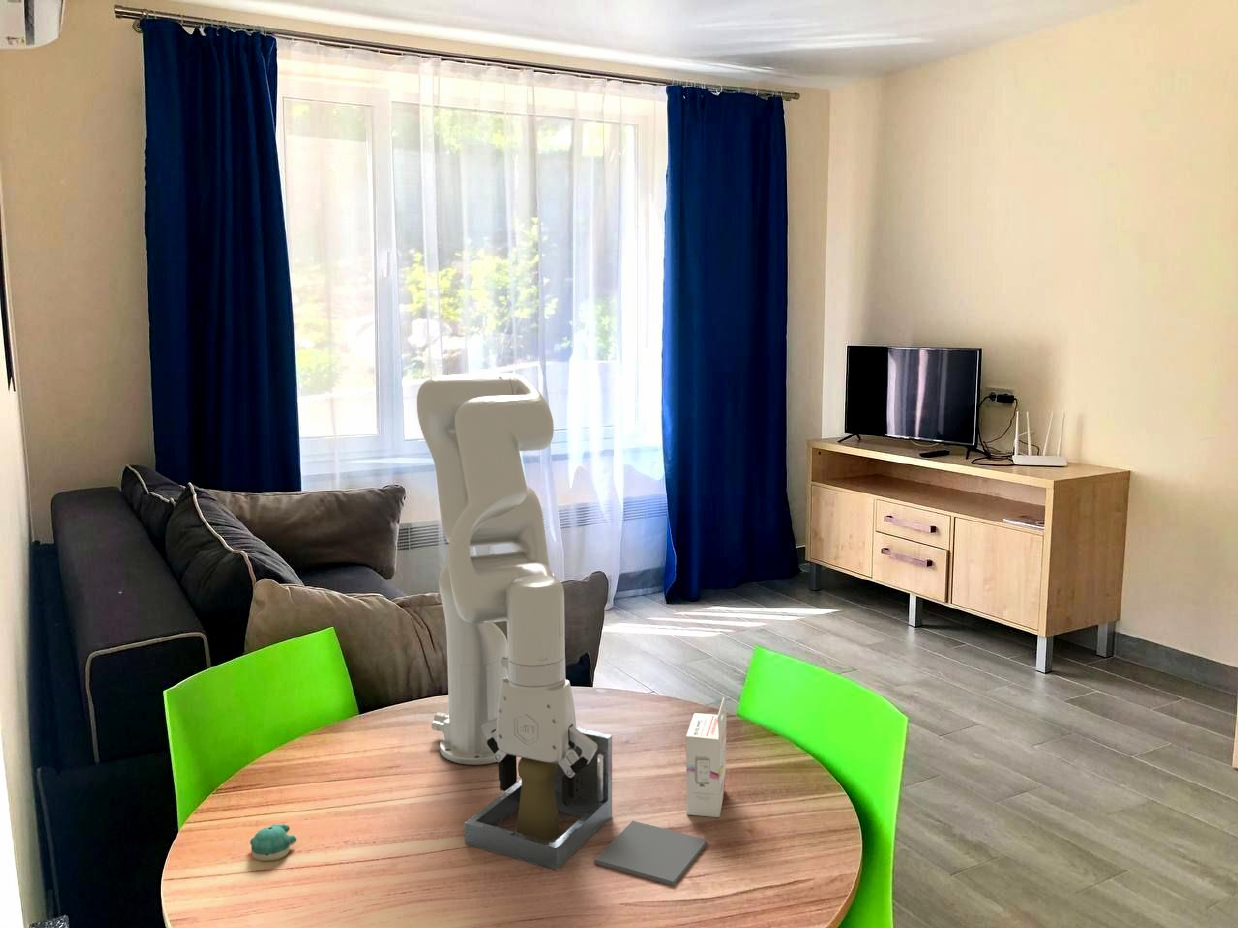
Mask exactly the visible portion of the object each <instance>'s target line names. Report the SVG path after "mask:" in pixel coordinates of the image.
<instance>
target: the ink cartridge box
mask: <svg viewBox="0 0 1238 928" xmlns="http://www.w3.org/2000/svg"><path fill="white" fill-rule="evenodd" d="M685 743H686V744H685V745H686V750H685V751H686V752H685V753H686V754H685V755H686V758H685V759H686V766H685V767H686V815H691V816H702V817H703V816H705V817H713V818H719V817H720V816H721V812H722V805H723V803H724V802H723V800H724V794H725V790H726V759H727V707H726V697H725V696H723V697H722V701H721V704H720V707H719V710H718V714H712V713H701V712H700V713H699V712H694V713H693V715H692V719H691V721H690V723H689V727H688V729H687V732H686V735H685Z"/></svg>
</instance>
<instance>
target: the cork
mask: <svg viewBox="0 0 1238 928" xmlns="http://www.w3.org/2000/svg"><path fill="white" fill-rule="evenodd" d="M517 764H518V765H517V774H518V776H519V778H520V780H521V779H522V787H521V795H520V803H519V808H518V813H517V821H516V827H515V828H516V829H515V832H517V833H521V834H524V835H528V836H531V837H535V838H539V839H542V840H546V841H550V842H553V841H554V840H555V841H556V840H557V839H558V838H559V837H560V836H561V826H560V819H559V812H558V811H557V804H556V797H555V790H554V784H553V778H554V777H555V775H556V772H557V764H556V763H546V762H541V761H536V760H531V759H527V758H522V757H520V760H519V761H518V763H517Z"/></svg>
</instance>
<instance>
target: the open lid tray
mask: <svg viewBox="0 0 1238 928" xmlns="http://www.w3.org/2000/svg"><path fill="white" fill-rule="evenodd" d="M576 729H578V730H579V731H580V732H582V733H583V734H584V735H586V736H587V737H588V738H590V739H591V740H592V741H593V742H595V743H596V744H597V746H598V747H597V750H596V752H595V754H594V756H593V757H592V760H591V762H590V763H589V764H587V765H586V766H585V767H584V768H583V769H582V770H581V771H580V794H579V796H578V798H577V799H575V800H574V801H573V802H572V803H571V804H570V805H568V806H565V805H563V803H562V777H563V776H564V775H565V772H564V771H563V769H562V768H561V766H560V765H559V763H556V764H557V772H556V775H555V777H554V778H553V784H554V790H555V797H556V804H557V811H558V813H562V814H566V815H569V816H574V817H577V818H579V819H578V820H576V821H575V823H573V824H572V825H571V826H570V827H569V828H568V829H566V831H565V832H563V833H562V835H559V836H558V837H557V838H556V839H555V841H554V842H553V841H546V840H542V839H539V838H535V837H531V836H528V835H524V834H521V833H517V832H516V831H514V830H513V831H512V830H509V829H506V828H503V827H499V826H498V825H499V824H500V823H502V822H503V821H504V820H505V819H507V818H508V817H509V816H510V815H511V814H512V813H514V812H515V811H517V810H519V803H520V795H521V787H522V779H521V778H520V779H519V781H518V780H517V782H516V783H515V784H514V785H513V786H511V787H510V788H509V789H507V790H505V791H503V793H501V794H500V795H499V796H498V797H496V798H495V799H493V800H492V801H491V802H490V803H488V804H487V805H485V807H483V808H482V809H481V810H479V811H478V812H477V813H475V814H474V815H473V816H471V817H470V818H468V819H467V820H466V821H465V822H464V844H465V845H467V846H468V845H469V846H471V847H474V848H478V849H482V850H485V851H489V852H492V853H496V854H499V855H503V856H505V857H509V858H513V859H516V860H518V861H523V862H526V863H529V864H533V865H536V866H540V867H543V868H547V869H551V870H553V871H558V870H559V869H560V868H561V867H562V866H563V865H564V864H565V863H566V862H567V861H568V860H569V859H571V857H573V856H574V855H575V853H576V852H577V851H579V850H580V849H581V848H582V846H584V845H585V844H586V843H588V841H590V839H591V838H592V837H593V836H594V835H595V834H596V833H597V832H598V831H599V830H600V829H602V827H603V826H604V825H606V823H608V821H610V820H611V818H612V817H613V734H609V733H606V732H605V733H604V732H599V731H596V730H592V729H585V728H581V727H577V726H576ZM574 751H575V752H576V754H577V755H578V757H579V758H580V757H581V754H582V749H581V748H580V747H578V746H577V745H576V749H575V750H574ZM566 758H567V756H566ZM567 759H568V758H567ZM568 760H569V759H568ZM569 762H570V761H569ZM570 763H571V762H570ZM571 765H572V764H571Z"/></svg>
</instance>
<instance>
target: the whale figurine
mask: <svg viewBox="0 0 1238 928" xmlns="http://www.w3.org/2000/svg"><path fill="white" fill-rule="evenodd" d="M290 828H291V827H290V825H288V824H283V823H280V824H272V825H270V826H267V827H264V828H261V830H259V831H258V832H257V833H256V834H255V835H254V836H253V837H252V838H251V839H250V840H249V843H250V845H251V848H250V849H251V854H252V856H253V858H254V859H255V860H257V861H261V862H262V861H263V862H266V861H276V860H280V859H282V858H284V857H285V856H287V855H288V853H289V852H290V849H291V846H292V845H294V844H296V842H297V837H296V836H295V835H294V834H293V835H292V834H291V835H288V834H287V833H288V832H289V831H290Z"/></svg>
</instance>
